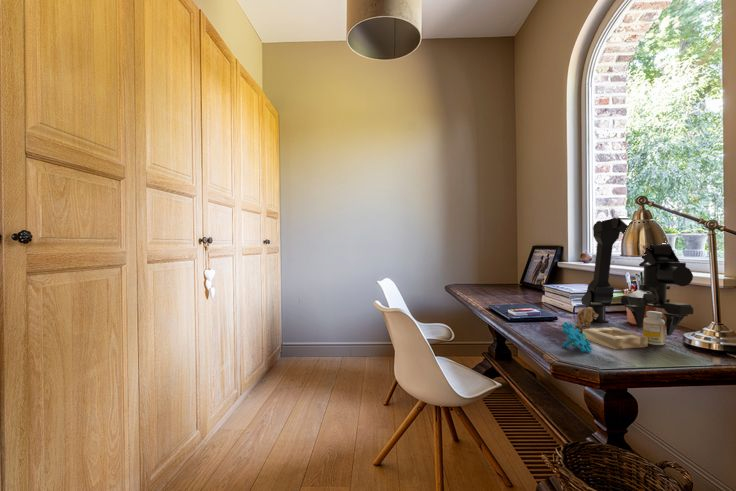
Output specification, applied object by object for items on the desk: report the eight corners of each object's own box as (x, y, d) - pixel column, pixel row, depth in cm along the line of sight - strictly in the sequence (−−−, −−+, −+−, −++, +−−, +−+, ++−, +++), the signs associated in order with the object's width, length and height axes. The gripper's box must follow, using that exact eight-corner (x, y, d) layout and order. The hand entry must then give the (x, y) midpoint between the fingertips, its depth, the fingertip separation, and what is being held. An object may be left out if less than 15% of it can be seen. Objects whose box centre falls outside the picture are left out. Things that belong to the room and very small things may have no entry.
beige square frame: (612, 336, 121) (612, 327, 121) (647, 346, 109) (647, 336, 109) (582, 338, 118) (582, 329, 118) (614, 349, 106) (615, 339, 106)
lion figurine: (599, 334, 123) (600, 308, 122) (582, 333, 124) (582, 307, 124) (584, 324, 137) (585, 301, 137) (569, 323, 138) (569, 300, 138)
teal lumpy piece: (583, 351, 99) (559, 320, 105) (566, 362, 102) (544, 331, 109) (600, 349, 106) (577, 320, 112) (584, 360, 109) (562, 331, 115)
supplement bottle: (653, 340, 116) (653, 310, 116) (669, 345, 111) (670, 313, 111) (638, 340, 116) (639, 310, 115) (654, 345, 110) (654, 314, 110)
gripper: (607, 279, 120) (606, 325, 121) (664, 286, 102) (663, 341, 102) (634, 278, 123) (633, 324, 123) (695, 285, 104) (694, 339, 105)
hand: (653, 331), depth 113 cm, fingers open, 9 cm apart
